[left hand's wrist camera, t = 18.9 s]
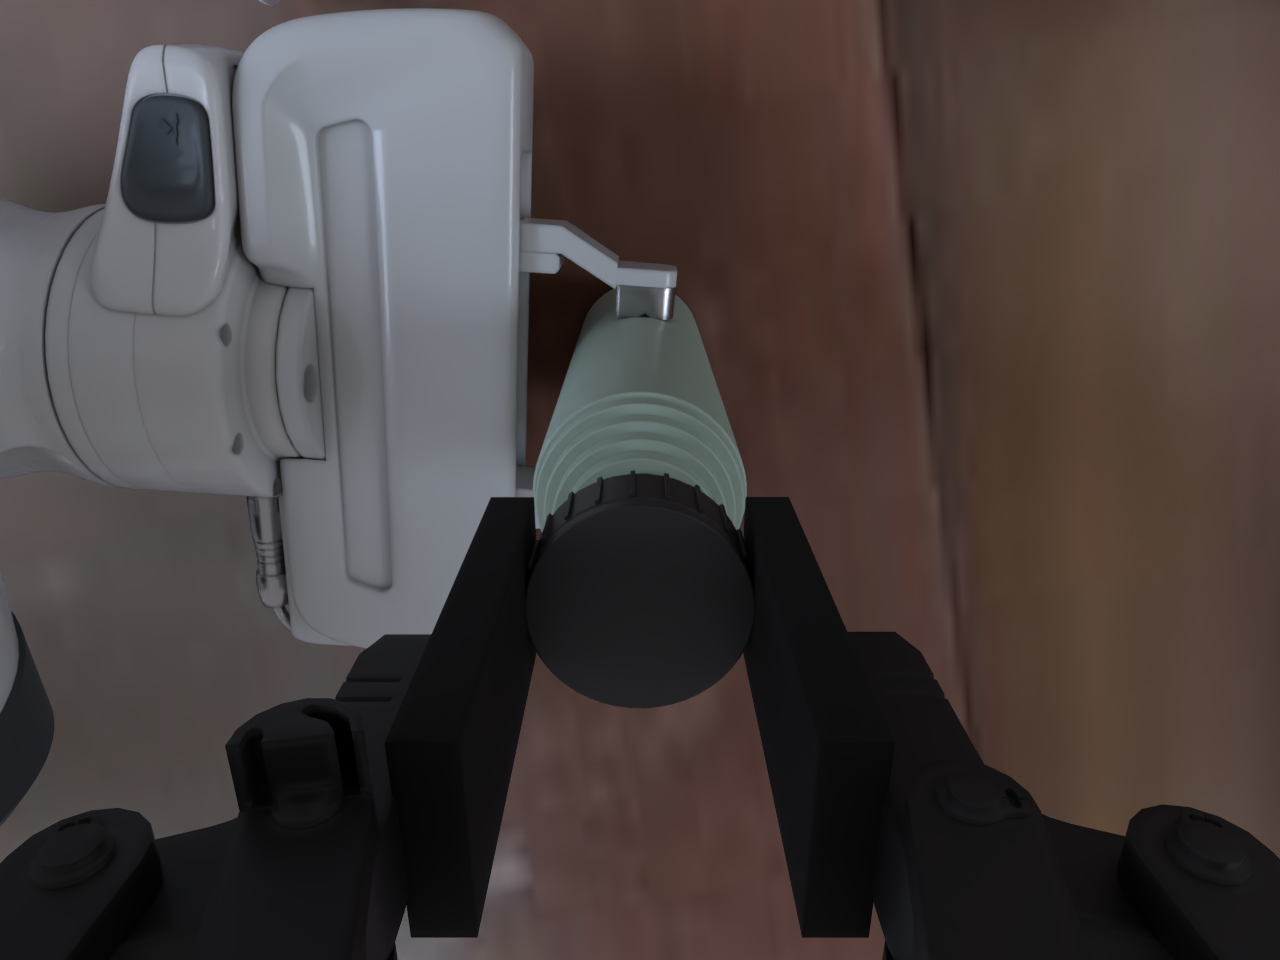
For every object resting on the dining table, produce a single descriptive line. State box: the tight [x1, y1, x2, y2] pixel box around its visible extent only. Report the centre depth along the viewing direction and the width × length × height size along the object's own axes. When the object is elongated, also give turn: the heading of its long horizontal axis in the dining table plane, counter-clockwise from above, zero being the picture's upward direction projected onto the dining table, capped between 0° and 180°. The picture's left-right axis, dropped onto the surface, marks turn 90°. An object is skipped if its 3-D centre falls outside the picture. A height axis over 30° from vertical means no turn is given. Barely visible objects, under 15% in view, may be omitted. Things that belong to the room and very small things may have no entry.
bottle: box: [533, 287, 747, 532], centre depth 23 cm, size 5×5×20 cm
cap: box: [525, 470, 754, 708], centre depth 14 cm, size 4×4×2 cm
